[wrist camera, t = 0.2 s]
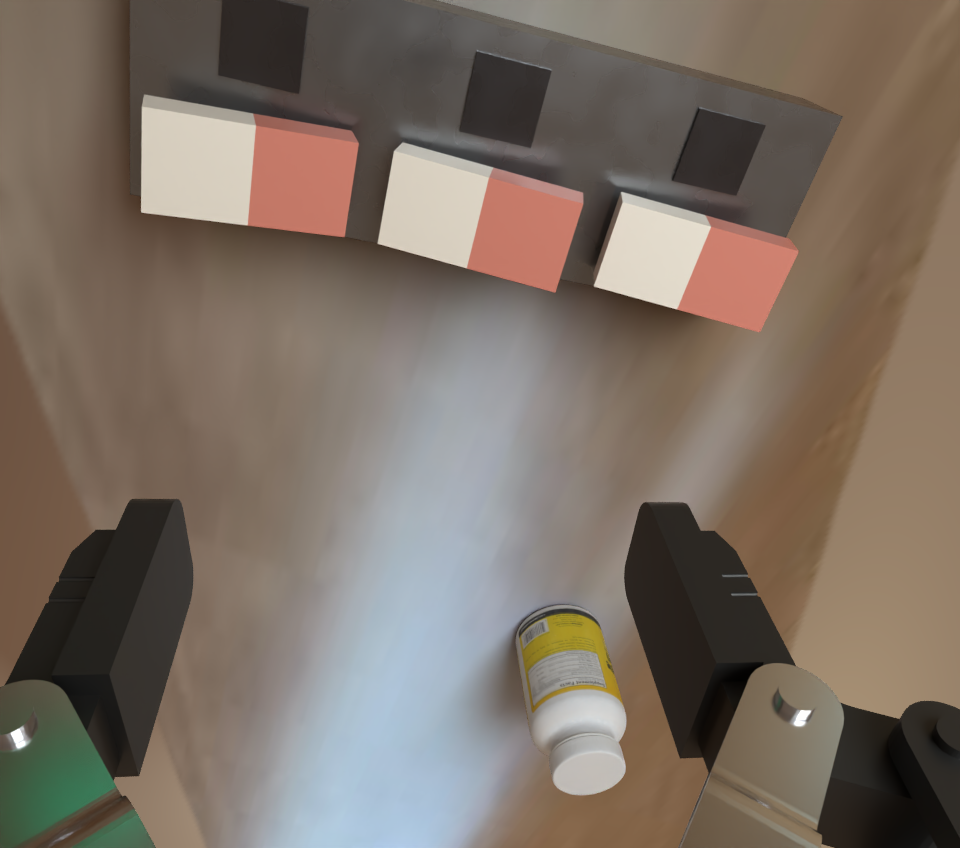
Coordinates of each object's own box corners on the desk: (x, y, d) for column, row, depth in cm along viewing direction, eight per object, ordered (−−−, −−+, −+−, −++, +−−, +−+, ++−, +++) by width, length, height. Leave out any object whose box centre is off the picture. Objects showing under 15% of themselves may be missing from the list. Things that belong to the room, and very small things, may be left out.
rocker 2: (402, 142, 33) (394, 150, 31) (583, 192, 33) (583, 203, 31) (386, 231, 35) (377, 243, 33) (556, 278, 35) (555, 292, 34)
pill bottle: (569, 667, 60) (602, 812, 50) (498, 646, 58) (518, 792, 48) (616, 614, 57) (661, 757, 48) (542, 589, 55) (574, 733, 45)
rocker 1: (144, 94, 29) (141, 106, 28) (351, 130, 32) (358, 143, 31) (143, 196, 31) (141, 212, 30) (338, 221, 34) (344, 237, 33)
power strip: (157, -74, 31) (128, -73, 28) (803, 98, 38) (844, 117, 34) (153, 168, 37) (128, 195, 33) (721, 285, 43) (750, 318, 39)
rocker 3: (620, 191, 35) (622, 201, 33) (789, 238, 35) (798, 251, 33) (593, 272, 37) (593, 286, 35) (752, 316, 37) (759, 332, 36)
